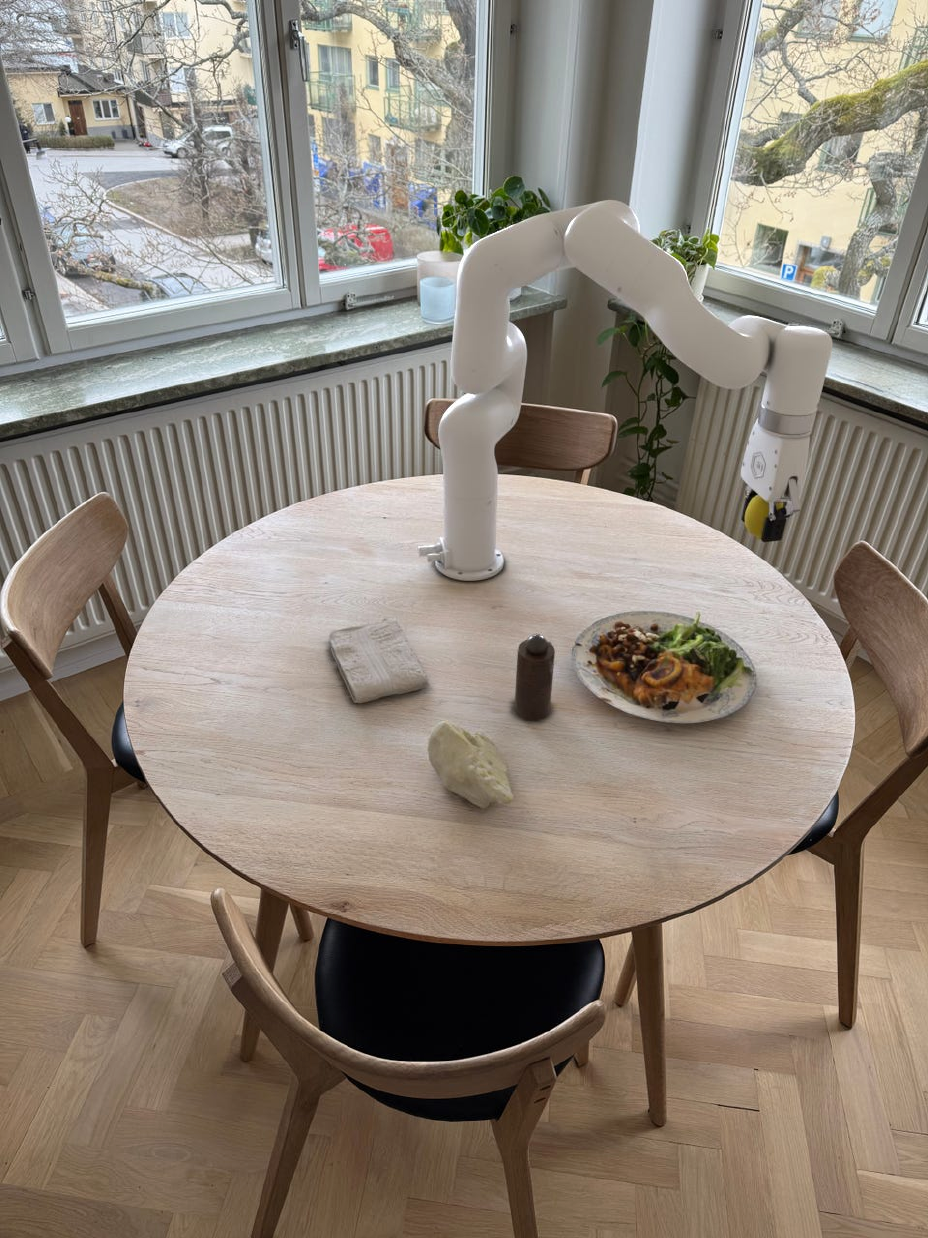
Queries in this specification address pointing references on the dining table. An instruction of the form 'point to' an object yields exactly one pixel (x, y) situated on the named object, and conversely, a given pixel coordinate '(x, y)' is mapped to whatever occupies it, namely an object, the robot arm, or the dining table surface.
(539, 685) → the pepper mill
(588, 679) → the plate of food
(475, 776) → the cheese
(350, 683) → the washcloth
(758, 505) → the lemon
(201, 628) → the dining table surface
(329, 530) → the dining table surface
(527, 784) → the dining table surface
